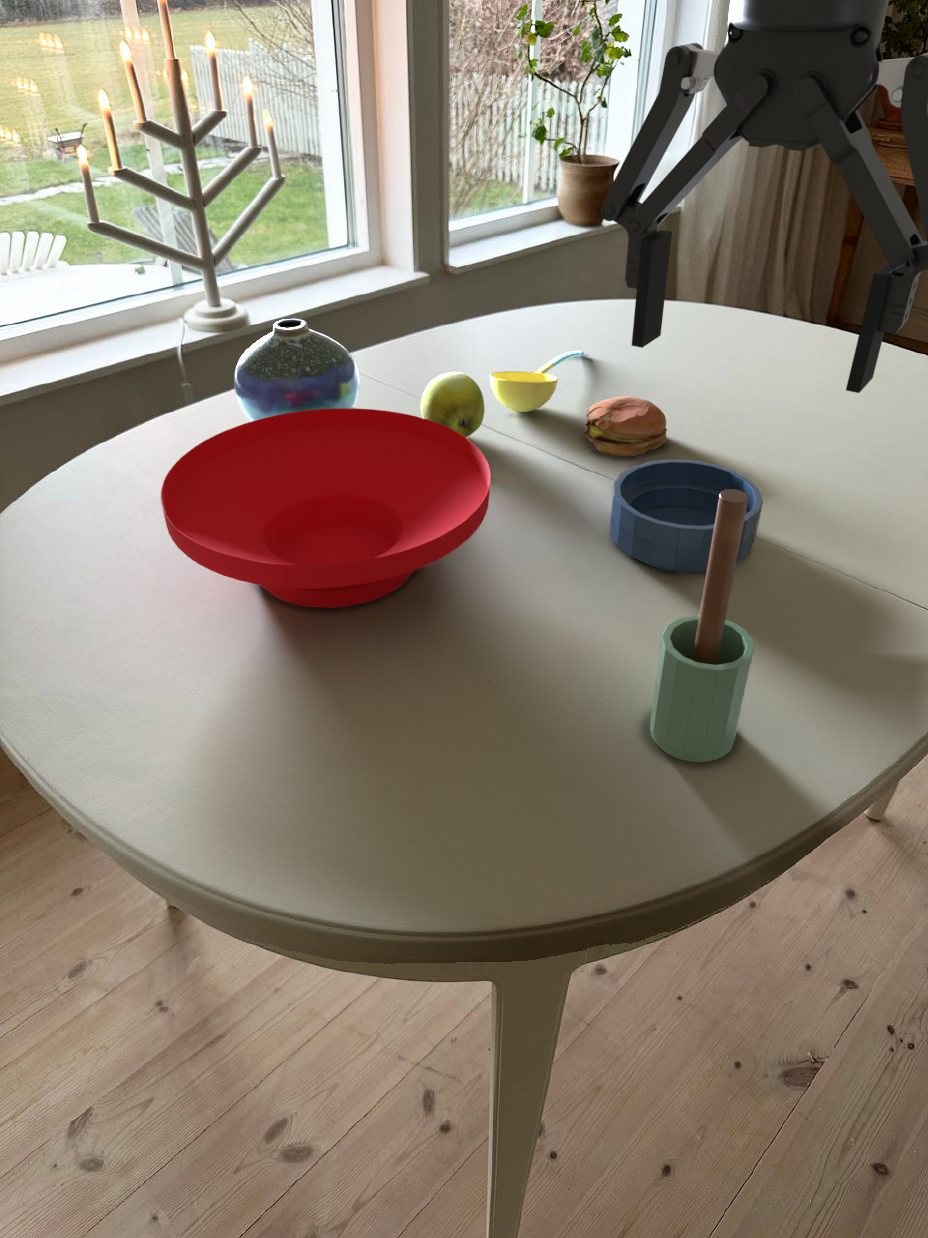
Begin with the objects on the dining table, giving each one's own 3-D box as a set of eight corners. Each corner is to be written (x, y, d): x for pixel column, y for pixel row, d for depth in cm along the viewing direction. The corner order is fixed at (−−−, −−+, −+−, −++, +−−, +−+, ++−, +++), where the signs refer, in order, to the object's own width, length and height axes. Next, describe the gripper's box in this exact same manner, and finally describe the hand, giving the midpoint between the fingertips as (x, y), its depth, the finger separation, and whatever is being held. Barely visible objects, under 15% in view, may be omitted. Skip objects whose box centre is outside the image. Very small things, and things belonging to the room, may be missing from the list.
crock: (742, 718, 73) (762, 627, 67) (724, 773, 68) (744, 679, 63) (662, 696, 75) (675, 606, 70) (639, 748, 70) (652, 655, 65)
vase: (222, 423, 120) (203, 320, 112) (325, 394, 127) (314, 296, 119) (277, 465, 110) (261, 356, 102) (386, 431, 117) (378, 326, 109)
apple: (471, 418, 120) (471, 358, 115) (494, 447, 113) (495, 384, 108) (413, 426, 118) (410, 366, 113) (433, 456, 111) (431, 393, 106)
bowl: (164, 521, 99) (144, 435, 93) (431, 471, 108) (427, 389, 102) (206, 693, 76) (183, 593, 70) (540, 612, 85) (544, 517, 79)
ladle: (476, 412, 119) (479, 366, 117) (549, 385, 141) (553, 346, 139) (540, 421, 116) (543, 374, 113) (605, 392, 138) (609, 352, 135)
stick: (709, 715, 72) (753, 487, 60) (699, 742, 70) (743, 509, 58) (686, 709, 72) (725, 482, 61) (676, 735, 70) (714, 504, 58)
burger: (675, 434, 115) (679, 399, 112) (648, 464, 108) (652, 428, 106) (601, 419, 119) (604, 384, 116) (571, 448, 112) (573, 412, 110)
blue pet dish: (764, 521, 97) (774, 474, 94) (736, 591, 87) (746, 541, 84) (632, 495, 102) (637, 449, 99) (590, 559, 92) (594, 510, 89)
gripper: (555, -64, 48) (541, 341, 60) (1108, -77, 36) (948, 429, 48) (622, -64, 53) (596, 310, 65) (1128, -76, 41) (978, 383, 53)
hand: (746, 361), depth 57 cm, fingers open, 13 cm apart
